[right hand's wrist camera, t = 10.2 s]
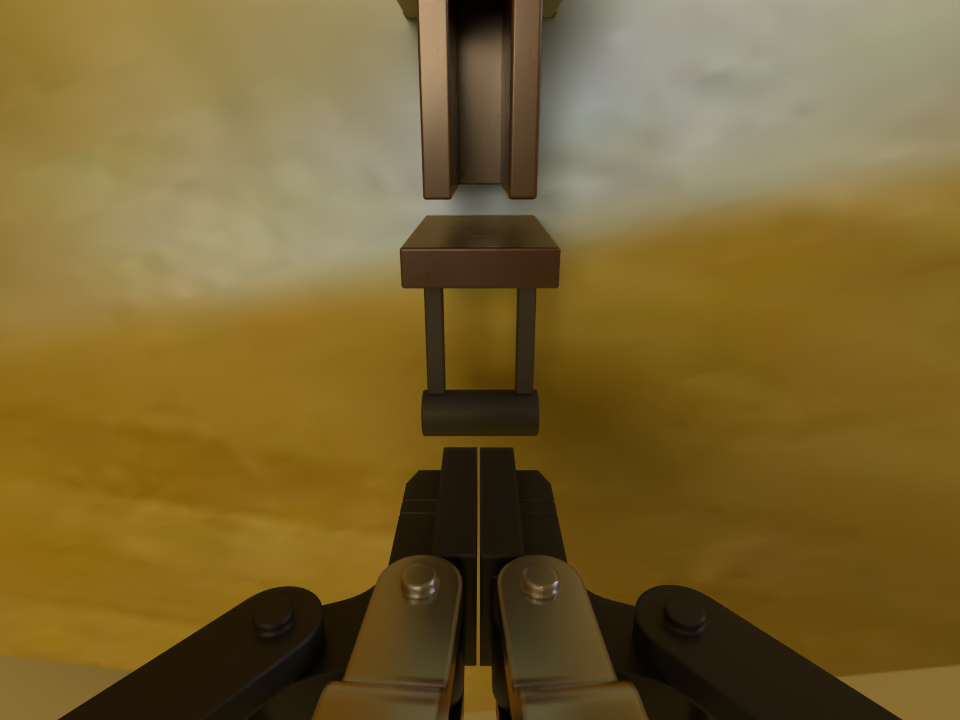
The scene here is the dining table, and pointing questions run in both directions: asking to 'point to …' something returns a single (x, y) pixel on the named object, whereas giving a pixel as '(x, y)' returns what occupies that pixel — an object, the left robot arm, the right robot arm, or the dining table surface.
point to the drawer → (480, 160)
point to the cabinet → (409, 7)
